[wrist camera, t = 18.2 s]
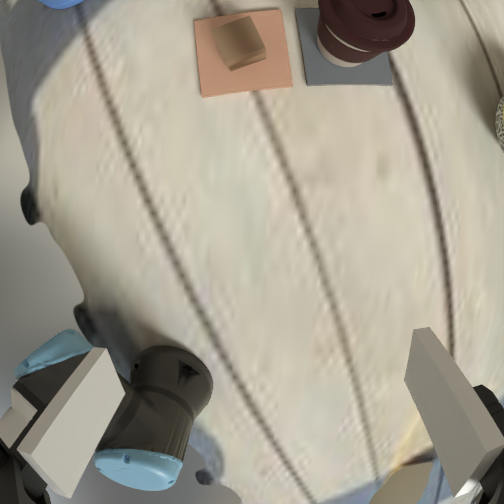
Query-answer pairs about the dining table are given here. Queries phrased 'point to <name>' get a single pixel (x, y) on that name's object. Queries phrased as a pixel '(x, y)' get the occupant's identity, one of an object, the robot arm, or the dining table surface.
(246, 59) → the walnut block
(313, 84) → the slate tile
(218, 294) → the dining table surface
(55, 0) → the water jug
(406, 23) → the coffee cup
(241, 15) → the terracotta tile
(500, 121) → the bowl
